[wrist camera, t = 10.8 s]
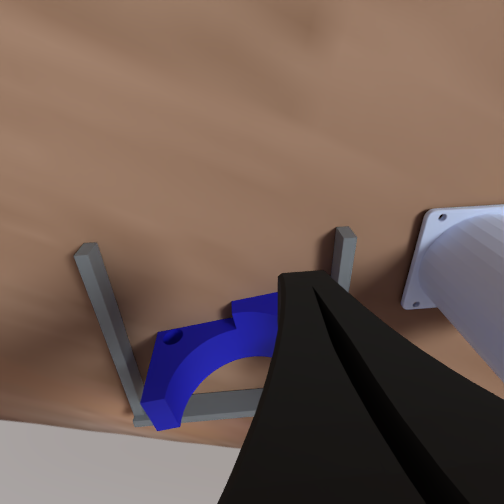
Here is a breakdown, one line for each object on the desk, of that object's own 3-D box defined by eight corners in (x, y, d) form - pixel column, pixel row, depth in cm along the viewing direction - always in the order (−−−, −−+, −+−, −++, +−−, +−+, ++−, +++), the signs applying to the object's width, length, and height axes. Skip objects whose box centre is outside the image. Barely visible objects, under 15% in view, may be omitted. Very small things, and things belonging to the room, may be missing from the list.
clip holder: (348, 226, 20) (360, 241, 18) (326, 388, 28) (332, 409, 27) (83, 243, 19) (69, 260, 18) (140, 404, 28) (134, 427, 26)
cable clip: (313, 283, 23) (339, 347, 17) (318, 328, 25) (342, 396, 20) (151, 315, 23) (130, 387, 18) (171, 356, 25) (157, 431, 20)
